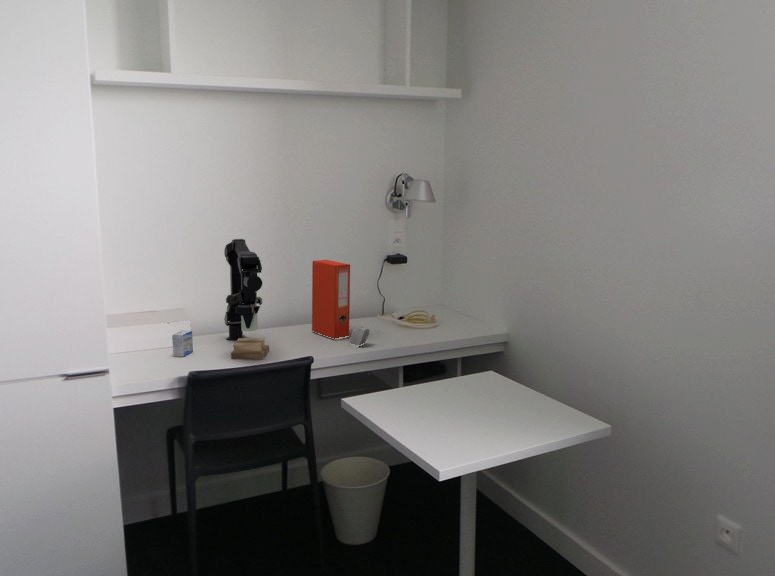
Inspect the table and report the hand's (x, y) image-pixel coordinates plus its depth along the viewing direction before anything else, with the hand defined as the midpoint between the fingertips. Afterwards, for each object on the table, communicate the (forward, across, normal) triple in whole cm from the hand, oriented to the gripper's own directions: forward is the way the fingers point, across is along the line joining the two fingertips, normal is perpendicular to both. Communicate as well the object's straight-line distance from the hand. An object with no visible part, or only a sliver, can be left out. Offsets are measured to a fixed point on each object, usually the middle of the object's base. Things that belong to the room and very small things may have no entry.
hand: (249, 326), depth 264 cm
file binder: (+12, -35, +27) cm, 46 cm away
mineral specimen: (+12, -19, +41) cm, 47 cm away
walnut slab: (+12, 0, 0) cm, 12 cm away
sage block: (+1, 0, 0) cm, 1 cm away
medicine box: (+12, +1, -26) cm, 28 cm away
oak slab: (+9, 0, 0) cm, 9 cm away
